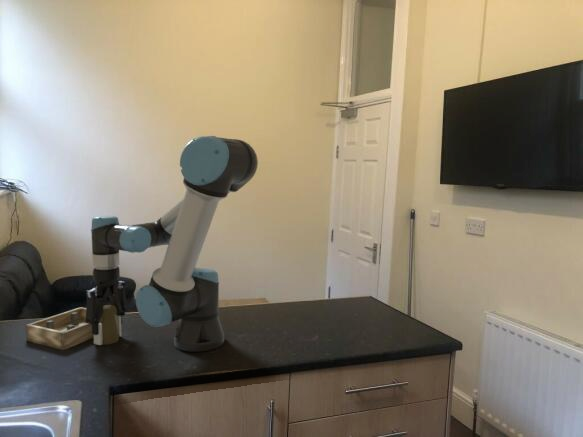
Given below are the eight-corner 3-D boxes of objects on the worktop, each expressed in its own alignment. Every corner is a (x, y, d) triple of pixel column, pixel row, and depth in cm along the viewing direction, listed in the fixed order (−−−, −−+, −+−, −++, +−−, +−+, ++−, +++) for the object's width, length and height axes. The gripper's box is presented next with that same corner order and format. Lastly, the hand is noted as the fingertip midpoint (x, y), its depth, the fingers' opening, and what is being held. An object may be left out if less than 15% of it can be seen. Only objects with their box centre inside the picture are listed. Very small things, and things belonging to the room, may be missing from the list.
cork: (122, 337, 139) (121, 303, 138) (112, 344, 133) (111, 309, 132) (104, 336, 140) (103, 302, 138) (93, 343, 134) (92, 308, 132)
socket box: (116, 328, 147) (115, 313, 146) (63, 349, 129) (62, 333, 128) (81, 321, 153) (80, 307, 153) (26, 340, 135) (25, 324, 134)
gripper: (121, 259, 144) (122, 327, 147) (69, 272, 126) (71, 349, 129) (139, 262, 141) (140, 331, 144) (88, 275, 123) (90, 353, 126)
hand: (108, 339), depth 136 cm, fingers open, 7 cm apart
